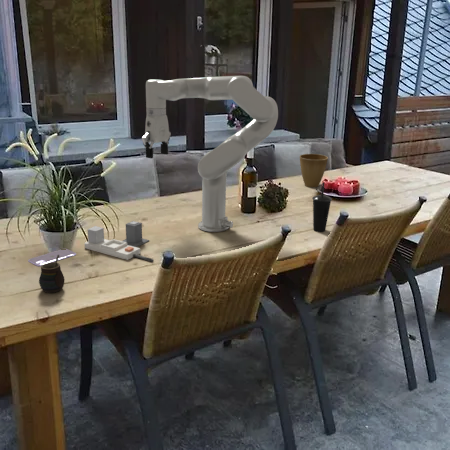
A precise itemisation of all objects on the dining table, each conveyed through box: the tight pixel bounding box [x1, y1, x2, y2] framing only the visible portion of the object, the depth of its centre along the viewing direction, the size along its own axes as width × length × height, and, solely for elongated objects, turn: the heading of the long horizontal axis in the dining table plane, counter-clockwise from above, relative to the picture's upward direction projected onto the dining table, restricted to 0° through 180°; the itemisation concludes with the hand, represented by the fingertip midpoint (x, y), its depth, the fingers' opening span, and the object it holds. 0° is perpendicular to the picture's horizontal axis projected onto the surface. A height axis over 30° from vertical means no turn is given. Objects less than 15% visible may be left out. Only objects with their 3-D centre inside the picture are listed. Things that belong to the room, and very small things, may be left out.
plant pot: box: [299, 153, 329, 188], centre depth 276 cm, size 15×15×16 cm
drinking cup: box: [312, 182, 332, 233], centre depth 208 cm, size 8×8×20 cm
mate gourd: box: [38, 255, 65, 294], centre depth 154 cm, size 7×8×10 cm
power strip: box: [84, 225, 155, 263], centre depth 182 cm, size 28×7×7 cm, turn 60°
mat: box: [122, 237, 150, 248], centre depth 194 cm, size 8×8×1 cm
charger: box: [125, 220, 143, 244], centre depth 193 cm, size 4×4×7 cm
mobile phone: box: [27, 248, 77, 267], centre depth 179 cm, size 8×1×15 cm
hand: (157, 155), depth 206 cm, fingers open, 9 cm apart
